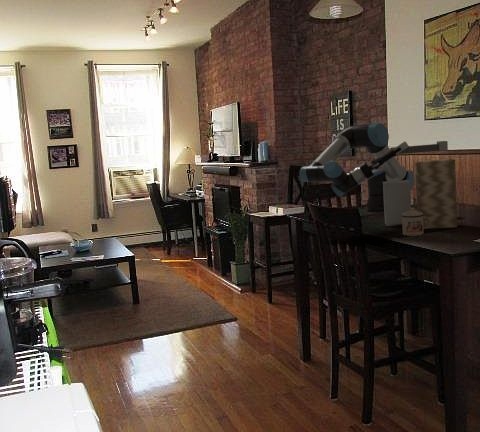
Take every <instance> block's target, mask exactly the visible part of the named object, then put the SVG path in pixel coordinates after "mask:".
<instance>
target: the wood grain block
mask: <svg viewBox="0 0 480 432" xmlns="http://www.w3.org/2000/svg"><path fill="white" fill-rule="evenodd" d="M414 165H415V167H414V169H415V170H414V171H415V172H414V173H415V190H416V193H415V194H416V210H417V211H419V212H422V213H423V217H428V218H430V221H431V222H430V225H429V226H428V227H427V228H424V230H425V229H427V230H428V229H445V228H447V229H448V228H458V211H457V210H458V209H457V208H458V206H457V205H458V204H457V179H456V178H457V177H456V176H457V174H456V160H455V159H453V158H447V159H445V158H444V159H434V160H421V161H414ZM427 224H428V219H427V218H424V219H423V227H424V226H426V225H427Z"/></svg>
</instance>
